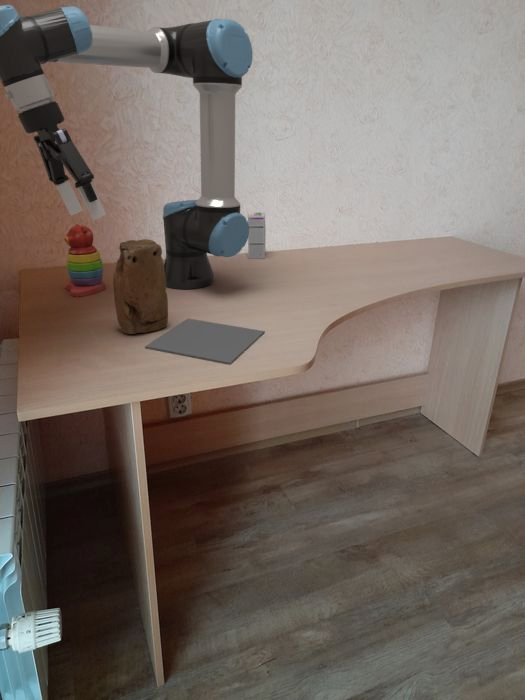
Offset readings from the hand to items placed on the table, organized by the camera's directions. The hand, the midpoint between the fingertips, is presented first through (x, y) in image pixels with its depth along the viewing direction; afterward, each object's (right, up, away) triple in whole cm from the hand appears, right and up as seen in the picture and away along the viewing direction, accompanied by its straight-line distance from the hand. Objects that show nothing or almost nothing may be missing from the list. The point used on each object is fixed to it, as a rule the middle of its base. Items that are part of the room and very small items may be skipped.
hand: (87, 215), depth 108 cm
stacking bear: (-13, -11, +40) cm, 44 cm away
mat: (+23, -25, +8) cm, 36 cm away
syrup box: (+34, +5, +75) cm, 82 cm away
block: (+8, -23, +14) cm, 28 cm away
